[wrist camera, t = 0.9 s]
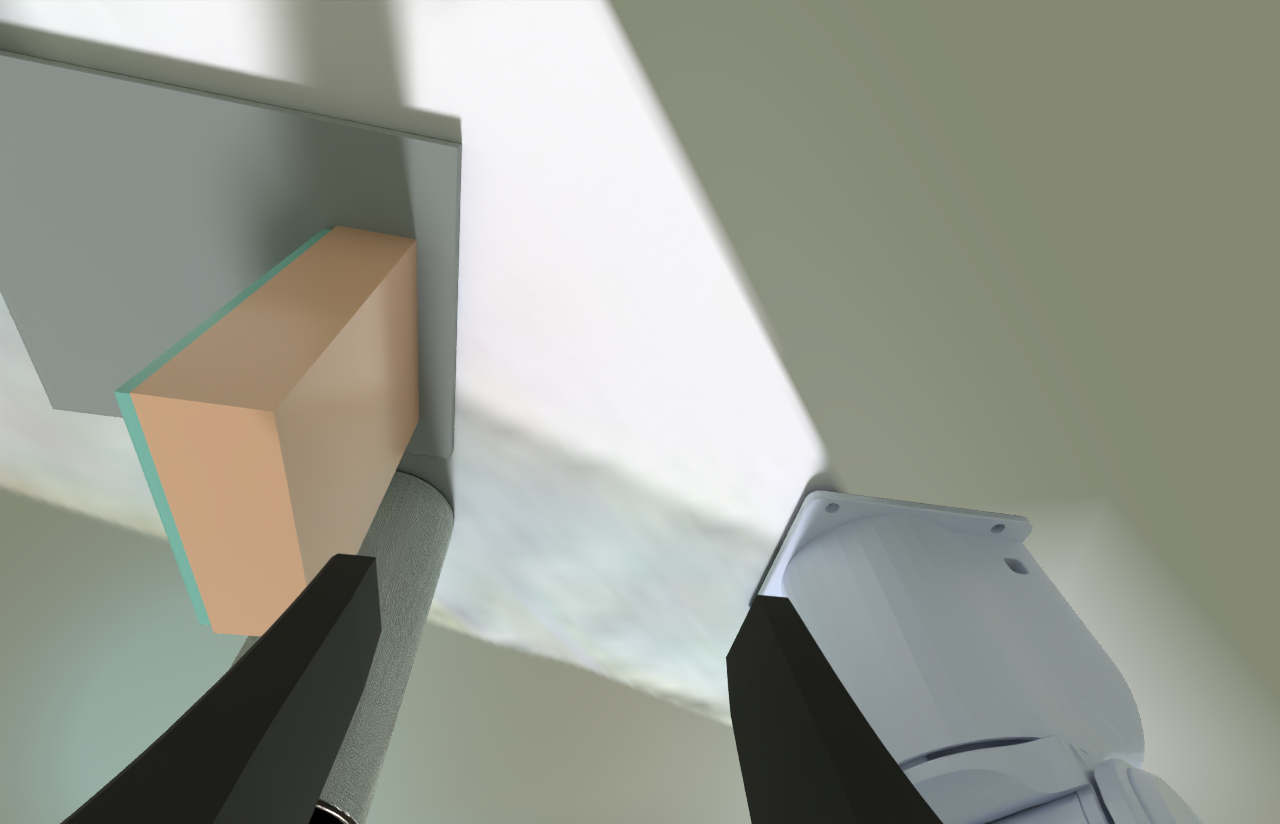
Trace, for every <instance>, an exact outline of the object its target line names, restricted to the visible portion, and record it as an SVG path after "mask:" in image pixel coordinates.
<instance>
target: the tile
mask: <svg viewBox="0 0 1280 824" xmlns="http://www.w3.org/2000/svg"><path fill="white" fill-rule="evenodd" d="M114 394H115V397H116V399H117V402H118V405H119V407H120V410H121V413H122V415H123V418H124V421H125V424H126V426H127V429H128V432H129V434H130V437H131V440H132V442H133V445H134V448H135V451H136V453H137V456H138V459H139V461H140V464H141V467H142V469H143V472H144V475H145V478H146V480H147V483H148V486H149V488H150V491H151V494H152V496H153V499H154V502H155V505H156V507H157V510H158V513H159V515H160V518H161V521H162V523H163V526H164V529H165V532H166V534H167V537H168V540H169V542H170V545H171V548H172V550H173V553H174V556H175V558H176V561H177V564H178V566H179V569H180V572H181V575H182V577H183V580H184V583H185V585H186V588H187V591H188V594H189V596H190V599H191V602H192V604H193V607H194V610H195V613H196V615H197V618H198V621H199V623H200V624H202V625H212V628H213V631H214V633H223V634H224V633H225V634H237V635H249V636H262V635H263V634H264V633H265V632H266V631H267V630H268V629H269V628H270V627H271V626H272V625H273V623H274V622H275V621H276V620H277V619H278V618H279V617H280V616H281V615H282V614H283V613H284V611H285V610H286V609H287V608H288V607H289V606H290V605H291V604H292V603H293V601H294V600H295V599H296V598H297V597H298V596H299V595H300V594H301V592H302V591H303V590H304V589H305V588H306V587H307V586H308V584H309V583H310V582H311V581H312V580H313V579H314V577H315V576H316V575H317V574H318V573H319V572H320V570H321V569H322V568H323V567H324V566H325V564H326V563H327V562H328V561H329V560H330V558H331V557H333V556H334V555H336V554H338V553H340V554H350V555H357V553H358V551H359V549H360V547H361V544H362V542H363V540H364V538H365V536H366V534H367V531H368V529H369V527H370V525H371V523H372V521H373V519H374V516H375V514H376V512H377V510H378V508H379V506H380V503H381V501H382V499H383V497H384V495H385V493H386V490H387V488H388V486H389V484H390V482H391V480H392V477H393V475H394V473H395V471H396V469H397V467H398V464H399V462H400V460H401V458H402V456H403V454H404V451H405V449H406V447H407V445H408V443H409V441H410V439H411V436H412V434H413V432H414V430H415V428H416V426H417V423H418V421H419V366H418V301H417V240H416V239H410V238H405V237H399V236H394V235H388V234H382V233H377V232H371V231H366V230H360V229H354V228H349V227H343V226H336V227H335V228H334V229H332V230H331V229H325V228H324V229H322V230H321V231H320V232H319V233H317V234H316V235H315V236H313V237H312V238H311V239H310V240H308V241H307V242H306V243H304V244H303V245H302V246H301V247H299V248H298V249H297V250H295V251H294V252H293V253H292V254H290V255H289V256H288V257H286V258H285V259H284V260H283V261H281V262H280V263H279V264H277V265H276V266H275V267H274V268H272V269H271V270H270V271H268V272H267V273H266V274H265V275H263V276H262V277H261V278H259V279H258V280H257V281H256V282H254V283H253V284H252V285H250V286H249V287H248V288H247V289H245V290H244V291H243V292H241V293H240V294H239V295H238V296H236V297H235V298H234V299H232V300H231V301H230V302H229V303H227V304H226V305H225V306H223V307H222V308H221V309H220V310H218V311H217V312H216V313H214V314H213V315H212V316H211V317H209V318H208V319H207V320H205V321H204V322H203V323H202V324H200V325H199V326H198V327H196V328H195V329H194V330H193V331H191V332H190V333H189V334H187V335H186V336H185V337H184V338H182V339H181V340H180V341H178V342H177V343H176V344H175V345H173V346H172V347H171V348H169V349H168V350H167V351H166V352H164V353H163V354H162V355H160V356H159V357H158V358H157V359H155V360H154V361H153V362H151V363H150V364H149V365H148V366H146V367H145V368H144V369H142V370H141V371H140V372H139V373H137V374H136V375H135V376H133V377H132V378H131V379H130V380H128V381H127V382H126V383H124V384H123V385H122V386H120V387H119V388H118V389H117V390H115V391H114Z"/></svg>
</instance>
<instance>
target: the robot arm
mask: <svg viewBox="0 0 1280 824" xmlns="http://www.w3.org/2000/svg"><path fill="white" fill-rule="evenodd" d="M831 503H834V504H833V505H830V506H828V505H829V504H831ZM1032 528H1033V525H1032V524H1031V523H1030V522H1029V520H1028V519H1027V518H1026V517H1023V516H1016V515H1008V514H999V513H993V512H985V511H977V510H969V509H962V508H954V507H945V506H938V505H931V504H923V503H914V502H907V501H900V500H892V499H884V498H875V497H868V496H860V495H853V494H845V493H838V492H830V491H814V492H812V493H810V494H809V495H807V497H806V498H805V500H804V502H803V504H802V506H801V508H800V510H799V512H798V514H797V516H796V518H795V520H794V522H793V524H792V526H791V528H790V530H789V532H788V534H787V536H786V538H785V540H784V542H783V544H782V546H781V548H780V550H779V552H778V554H777V556H776V558H775V560H774V562H773V564H772V566H771V568H770V570H769V572H768V574H767V576H766V578H765V580H764V582H763V585H762V587H761V589H760V591H759V593H758V595H757V596H756V598H755V600H754V602H753V604H752V606H751V608H750V610H749V612H748V614H747V616H746V618H745V620H744V622H743V624H742V626H741V628H740V630H739V632H738V634H737V636H736V638H735V641H734V643H733V645H732V647H731V649H730V651H729V653H728V655H727V657H726V663H727V677H728V691H729V702H730V712H731V719H732V724H733V730H734V735H735V740H736V746H737V751H738V756H739V762H740V767H741V772H742V776H743V782H744V787H745V792H746V797H747V801H748V807H749V812H750V817H751V822H752V824H1204V823H1203V822H1202V821H1201V819H1199V817H1198V816H1197V815H1196V813H1194V811H1193V810H1192V809H1191V808H1190V807H1189V806H1188V805H1187V803H1186V802H1185V801H1184V800H1183V799H1182V798H1181V797H1180V796H1179V795H1178V794H1177V793H1176V792H1175V791H1174V790H1173V789H1172V788H1171V787H1170V786H1169V785H1168V784H1167V783H1166V782H1165V781H1163V780H1162V779H1161V778H1159V777H1157V776H1155V775H1153V774H1151V773H1148V772H1146V771H1143V770H1141V766H1142V763H1143V757H1144V735H1143V729H1142V724H1141V719H1140V715H1139V712H1138V708H1137V705H1136V703H1135V700H1134V698H1133V695H1132V693H1131V690H1130V688H1129V686H1128V684H1127V683H1126V681H1125V679H1124V677H1123V675H1122V674H1121V672H1120V671H1119V669H1118V668H1117V666H1116V665H1115V664H1114V662H1113V661H1112V660H1111V658H1110V657H1109V656H1108V654H1107V653H1106V652H1105V650H1104V649H1103V648H1102V647H1101V645H1100V644H1099V643H1098V641H1097V640H1096V639H1095V637H1094V636H1093V635H1092V633H1091V632H1090V631H1089V630H1088V628H1087V627H1086V626H1085V624H1084V623H1083V622H1082V620H1081V619H1080V618H1079V617H1078V615H1077V614H1076V613H1075V611H1074V610H1073V609H1072V607H1071V606H1070V605H1069V603H1068V602H1067V601H1066V600H1065V598H1064V597H1063V596H1062V594H1061V593H1060V592H1059V590H1058V589H1057V588H1056V587H1055V585H1054V584H1053V583H1052V581H1051V580H1050V579H1049V577H1048V576H1047V575H1046V573H1045V572H1044V571H1043V569H1042V568H1041V567H1040V566H1039V564H1038V563H1037V562H1036V560H1035V559H1034V558H1033V556H1032V555H1031V554H1030V552H1029V551H1028V550H1027V549H1026V547H1025V546H1024V545H1023V543H1022V542H1023V541H1024V540H1025V539H1026V538H1027V536H1028V535H1029V534H1030V532H1031V531H1032ZM381 631H382V626H381V614H380V602H379V590H378V578H377V566H376V557H371V556H361V555H350V554H340V553H338V554H336V555H334V556H333V557H331V558H330V560H329V561H328V562H327V563H326V564H325V566H324V567H323V568H322V569H321V570H320V572H319V573H318V574H317V575H316V576H315V577H314V579H313V580H312V581H311V582H310V583H309V584H308V586H307V587H306V588H305V589H304V590H303V591H302V592H301V594H300V595H299V596H298V597H297V598H296V599H295V600H294V601H293V603H292V604H291V605H290V606H289V607H288V608H287V609H286V610H285V611H284V613H283V614H282V615H281V616H280V617H279V618H278V619H277V620H276V621H275V622H274V623H273V625H272V626H271V627H270V628H269V629H268V630H267V631H266V632H265V633H264V634H263V635H262V636H261V637H260V638H259V639H258V640H257V641H256V642H255V644H254V645H253V646H252V647H251V648H250V649H249V650H248V651H247V652H246V653H245V654H244V655H243V656H242V657H241V658H240V659H239V660H238V661H237V662H236V663H235V664H234V665H233V666H232V667H231V668H230V670H229V671H228V672H227V673H226V674H225V675H224V676H223V677H222V678H221V679H220V680H219V681H218V682H217V683H216V684H215V685H214V686H212V687H211V688H210V689H209V690H208V691H207V692H206V693H205V694H204V695H203V696H202V697H201V698H200V699H199V700H198V701H197V702H196V703H195V704H194V705H193V706H192V707H191V708H190V709H189V710H187V711H186V712H185V713H184V714H183V715H182V716H181V717H180V718H179V719H178V720H177V721H176V722H175V723H174V724H173V725H172V726H171V727H170V728H169V729H168V730H167V731H166V732H165V733H163V734H162V735H161V736H160V737H159V738H158V739H157V740H156V741H155V742H154V743H153V744H152V745H150V746H149V747H148V748H147V749H146V750H145V751H144V752H143V753H142V754H141V755H139V756H138V757H137V758H136V759H135V760H134V761H133V762H132V763H130V764H129V765H128V766H127V767H126V768H125V769H124V770H123V771H122V772H120V773H119V774H118V775H117V776H116V777H115V778H113V779H112V780H111V781H110V782H109V783H108V784H106V786H104V787H103V788H102V789H101V790H100V791H98V792H97V793H96V794H95V795H94V796H93V797H91V798H90V799H89V800H88V801H87V802H86V803H84V804H83V805H82V806H81V807H80V808H79V809H77V810H76V811H75V812H74V813H73V814H72V815H71V816H69V817H68V818H67V819H65V820H64V821H63V822H62V823H60V824H309V821H310V819H311V817H312V814H313V812H314V809H315V807H316V805H317V802H318V800H319V797H320V795H321V793H322V790H323V788H324V785H325V783H326V781H327V778H328V776H329V773H330V771H331V769H332V766H333V764H334V761H335V759H336V757H337V754H338V752H339V749H340V747H341V745H342V742H343V740H344V737H345V735H346V732H347V730H348V728H349V725H350V723H351V720H352V718H353V715H354V713H355V711H356V708H357V706H358V703H359V701H360V698H361V696H362V693H363V691H364V688H365V685H366V681H367V678H368V675H369V672H370V668H371V665H372V662H373V658H374V655H375V651H376V648H377V644H378V641H379V638H380V634H381Z"/></svg>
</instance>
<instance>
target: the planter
mask: <svg viewBox="0 0 1280 824" xmlns="http://www.w3.org/2000/svg"><path fill="white" fill-rule="evenodd" d="M453 525H454V517H453V512H452V509H451V507H450V505H449V504H448V502H447V500H446V499H445V498H444V497H443V495H442V494H441V493H440V492H439V491H437V490H436V489H435V488H434V487H433V486H431V485H430V484H428V483H427V482H425V481H423V480H421V479H419V478H417V477H414V476H412V475H409V474H406V473H402V472H397V471H395V473H394V475H393V477H392V480H391V482H390V484H389V486H388V488H387V490H386V493H385V495H384V497H383V499H382V501H381V503H380V506H379V508H378V510H377V512H376V514H375V516H374V519H373V521H372V523H371V525H370V527H369V529H368V531H367V534H366V536H365V538H364V540H363V542H362V544H361V547H360V549H359V551H358V553H357V555H361V556H371V557H376V566H377V578H378V590H379V602H380V614H381V626H382V631H381V634H380V638H379V641H378V644H377V648H376V651H375V655H374V658H373V662H372V665H371V668H370V672H369V675H368V678H367V681H366V685H365V688H364V691H363V693H362V696H361V698H360V701H359V703H358V706H357V708H356V711H355V713H354V715H353V718H352V720H351V723H350V725H349V728H348V730H347V732H346V735H345V737H344V740H343V742H342V745H341V747H340V749H339V752H338V754H337V757H336V759H335V761H334V764H333V766H332V769H331V771H330V773H329V776H328V778H327V781H326V783H325V785H324V788H323V790H322V793H321V795H320V797H319V800H318V802H317V805H316V807H315V809H314V812H313V814H312V817H311V819H310V821H309V824H365V822H366V819H367V816H368V812H369V809H370V806H371V802H372V799H373V796H374V792H375V789H376V785H377V782H378V779H379V775H380V772H381V769H382V766H383V762H384V759H385V756H386V752H387V749H388V746H389V742H390V739H391V736H392V732H393V729H394V726H395V722H396V719H397V715H398V712H399V709H400V706H401V702H402V699H403V695H404V692H405V689H406V686H407V682H408V679H409V675H410V672H411V669H412V666H413V663H414V659H415V655H416V653H417V649H418V646H419V643H420V639H421V636H422V633H423V629H424V626H425V623H426V619H427V616H428V613H429V609H430V606H431V603H432V599H433V596H434V593H435V589H436V586H437V583H438V579H439V576H440V573H441V569H442V566H443V563H444V559H445V556H446V553H447V549H448V546H449V543H450V539H451V535H452V530H453ZM260 637H261V636H248V638H247V639H246V641H245V643H244V645H243V647H242V648H241V650H240V652H239V653H238V655H237V657H236V659H235V660H234V662H233V664H232V666H233V665H234V664H235V663H236V662H237V661H238V660H239V659H240V658H241V657H242V656H243V655H244V654H245V653H246V652H247V651H248V650H249V649H250V648H251V647H252V646H253V645H254V644H255V642H256V641H257V640H258V639H259V638H260ZM232 666H231V667H232ZM231 667H230V668H231ZM229 670H230V669H229Z"/></svg>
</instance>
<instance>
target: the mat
mask: <svg viewBox="0 0 1280 824" xmlns="http://www.w3.org/2000/svg"><path fill="white" fill-rule="evenodd" d="M461 147H462V144H459V143H454V142H449V141H444V140H440V139H435V138H430V137H425V136H420V135H415V134H410V133H405V132H400V131H395V130H390V129H386V128H381V127H376V126H371V125H366V124H361V123H356V122H351V121H346V120H341V119H337V118H332V117H327V116H322V115H317V114H312V113H307V112H302V111H297V110H292V109H287V108H283V107H278V106H273V105H268V104H263V103H258V102H253V101H248V100H243V99H238V98H233V97H229V96H224V95H219V94H214V93H209V92H204V91H199V90H194V89H189V88H184V87H180V86H175V85H170V84H165V83H160V82H155V81H150V80H145V79H140V78H135V77H130V76H126V75H121V74H116V73H111V72H106V71H101V70H96V69H91V68H86V67H81V66H76V65H72V64H67V63H62V62H57V61H52V60H47V59H42V58H37V57H32V56H27V55H23V54H18V53H13V52H8V51H3V50H0V291H1V294H2V296H3V298H4V300H5V303H6V305H7V307H8V309H9V311H10V314H11V316H12V318H13V320H14V323H15V325H16V327H17V329H18V331H19V334H20V336H21V338H22V340H23V343H24V345H25V347H26V349H27V352H28V354H29V356H30V358H31V360H32V363H33V365H34V367H35V369H36V372H37V374H38V376H39V378H40V380H41V383H42V385H43V387H44V389H45V392H46V394H47V396H48V398H49V400H50V403H51V405H52V407H53V409H57V410H65V411H73V412H81V413H89V414H97V415H105V416H113V417H121V418H123V415H122V413H121V410H120V407H119V405H118V402H117V399H116V397H115V394H114V391H115V390H117V389H118V388H119V387H120V386H122V385H123V384H124V383H126V382H127V381H128V380H130V379H131V378H132V377H133V376H135V375H136V374H137V373H139V372H140V371H141V370H142V369H144V368H145V367H146V366H148V365H149V364H150V363H151V362H153V361H154V360H155V359H157V358H158V357H159V356H160V355H162V354H163V353H164V352H166V351H167V350H168V349H169V348H171V347H172V346H173V345H175V344H176V343H177V342H178V341H180V340H181V339H182V338H184V337H185V336H186V335H187V334H189V333H190V332H191V331H193V330H194V329H195V328H196V327H198V326H199V325H200V324H202V323H203V322H204V321H205V320H207V319H208V318H209V317H211V316H212V315H213V314H214V313H216V312H217V311H218V310H220V309H221V308H222V307H223V306H225V305H226V304H227V303H229V302H230V301H231V300H232V299H234V298H235V297H236V296H238V295H239V294H240V293H241V292H243V291H244V290H245V289H247V288H248V287H249V286H250V285H252V284H253V283H254V282H256V281H257V280H258V279H259V278H261V277H262V276H263V275H265V274H266V273H267V272H268V271H270V270H271V269H272V268H274V267H275V266H276V265H277V264H279V263H280V262H281V261H283V260H284V259H285V258H286V257H288V256H289V255H290V254H292V253H293V252H294V251H295V250H297V249H298V248H299V247H301V246H302V245H303V244H304V243H306V242H307V241H308V240H310V239H311V238H312V237H313V236H315V235H316V234H317V233H319V232H320V231H321V230H322V229H324V228H325V229H331V230H332V229H334V228H335V227H336V226H343V227H349V228H354V229H360V230H366V231H371V232H377V233H382V234H388V235H394V236H399V237H405V238H410V239H416V240H417V301H418V366H419V421H418V423H417V426H416V428H415V430H414V432H413V434H412V436H411V439H410V441H409V443H408V445H407V447H406V449H405V451H404V453H409V454H417V455H425V456H433V457H441V458H449V459H450V458H451V455H452V452H453V448H454V411H455V373H456V335H457V298H458V260H459V222H460V185H461Z"/></svg>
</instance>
